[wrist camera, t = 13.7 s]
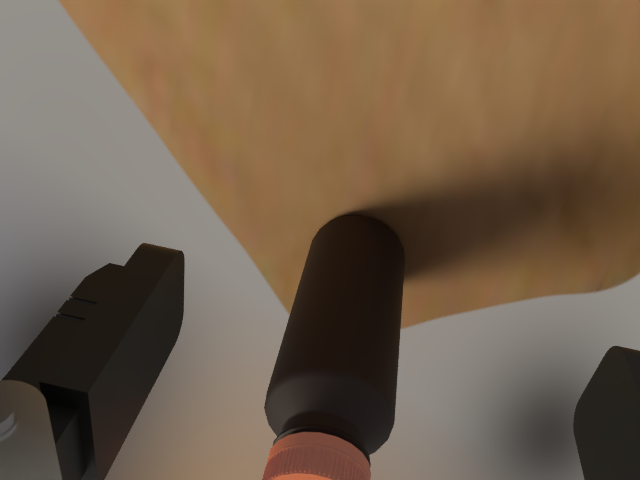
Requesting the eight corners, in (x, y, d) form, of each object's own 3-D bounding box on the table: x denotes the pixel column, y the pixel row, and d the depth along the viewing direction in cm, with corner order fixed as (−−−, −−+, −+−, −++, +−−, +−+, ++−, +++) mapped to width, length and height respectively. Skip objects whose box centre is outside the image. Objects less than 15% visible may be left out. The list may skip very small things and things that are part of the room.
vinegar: (326, 296, 46) (267, 551, 29) (298, 221, 43) (215, 462, 26) (414, 283, 44) (403, 549, 28) (392, 204, 41) (366, 453, 24)
